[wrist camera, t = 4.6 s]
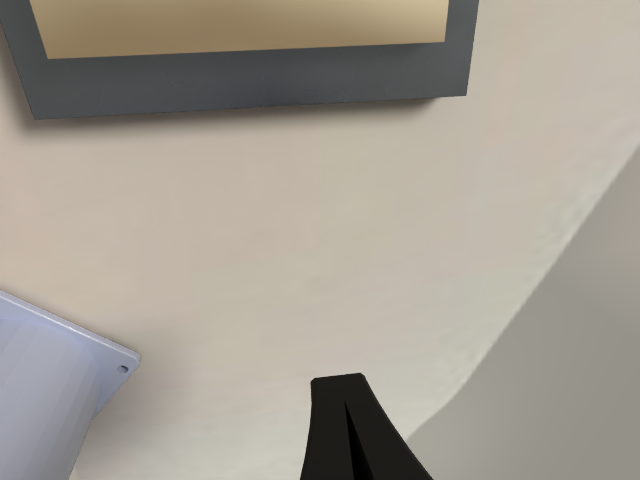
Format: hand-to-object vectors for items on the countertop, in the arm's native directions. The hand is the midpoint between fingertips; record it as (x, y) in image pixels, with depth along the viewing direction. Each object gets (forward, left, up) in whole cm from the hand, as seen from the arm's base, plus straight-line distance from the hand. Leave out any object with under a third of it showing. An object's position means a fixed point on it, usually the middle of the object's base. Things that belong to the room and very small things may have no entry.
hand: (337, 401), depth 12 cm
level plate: (+10, +11, -8) cm, 16 cm away
